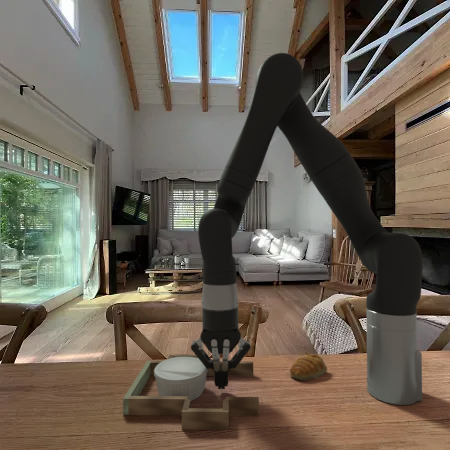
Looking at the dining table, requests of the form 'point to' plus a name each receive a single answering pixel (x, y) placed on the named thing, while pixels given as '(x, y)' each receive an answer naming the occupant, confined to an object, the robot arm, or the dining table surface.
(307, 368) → the pastry
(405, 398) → the robot arm
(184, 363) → the ramekin
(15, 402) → the dining table surface
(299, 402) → the dining table surface
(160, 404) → the box
